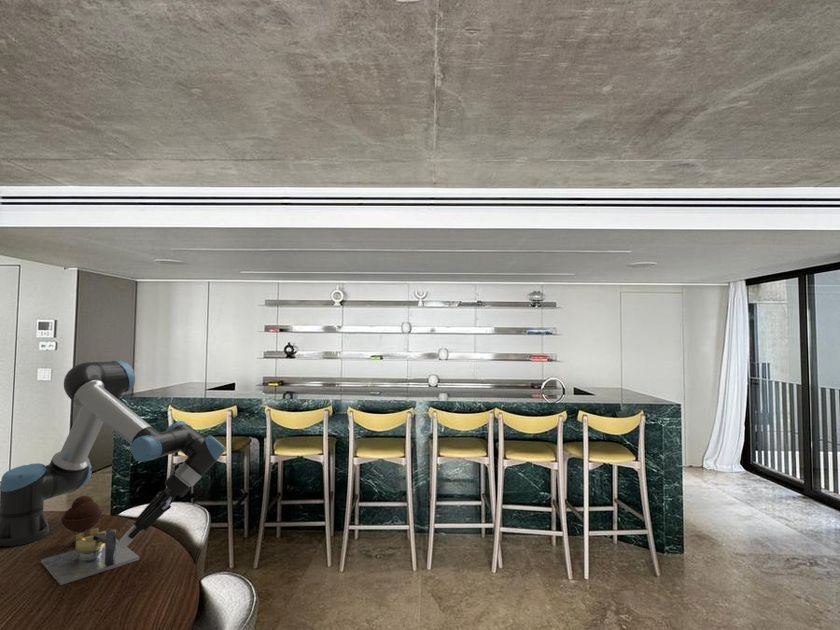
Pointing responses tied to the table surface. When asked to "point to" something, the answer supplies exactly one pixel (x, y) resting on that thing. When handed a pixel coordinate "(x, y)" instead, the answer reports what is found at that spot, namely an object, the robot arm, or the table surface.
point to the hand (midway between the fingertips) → (120, 546)
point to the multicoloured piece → (98, 543)
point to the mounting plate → (85, 563)
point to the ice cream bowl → (81, 515)
